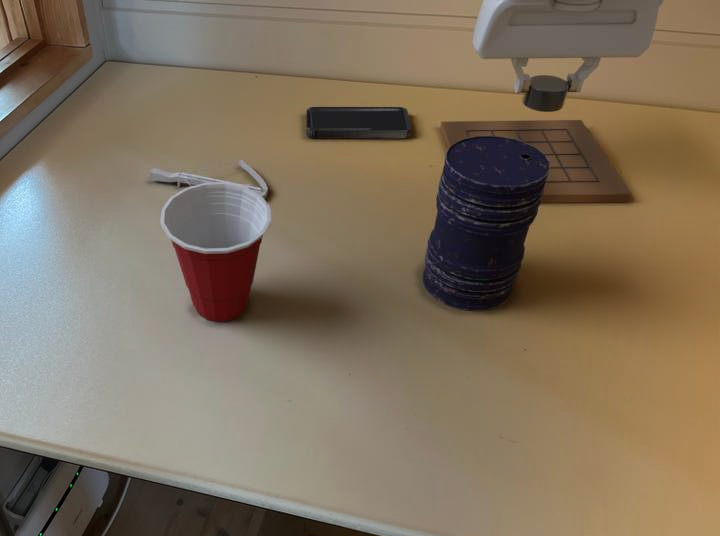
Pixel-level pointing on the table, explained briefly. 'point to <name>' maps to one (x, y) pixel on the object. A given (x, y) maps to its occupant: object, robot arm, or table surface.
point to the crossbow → (206, 178)
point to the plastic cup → (217, 244)
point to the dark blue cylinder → (483, 220)
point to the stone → (546, 93)
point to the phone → (357, 122)
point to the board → (555, 156)
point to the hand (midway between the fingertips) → (545, 90)
